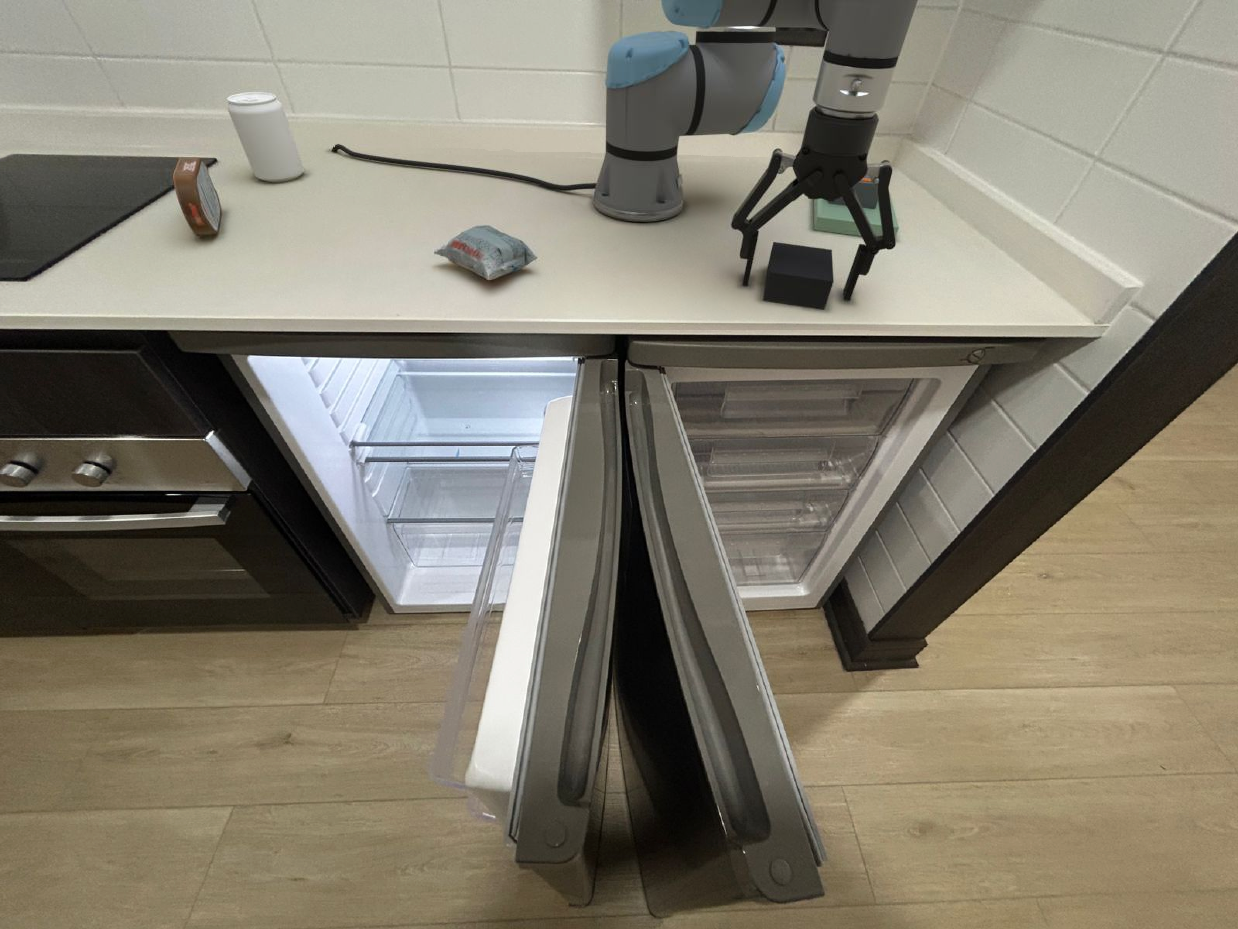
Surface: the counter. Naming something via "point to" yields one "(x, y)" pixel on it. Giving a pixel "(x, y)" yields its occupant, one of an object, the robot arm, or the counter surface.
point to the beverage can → (265, 136)
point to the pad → (863, 194)
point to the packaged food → (487, 252)
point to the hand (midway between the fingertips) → (795, 288)
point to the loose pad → (799, 275)
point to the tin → (197, 196)
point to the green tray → (846, 218)
